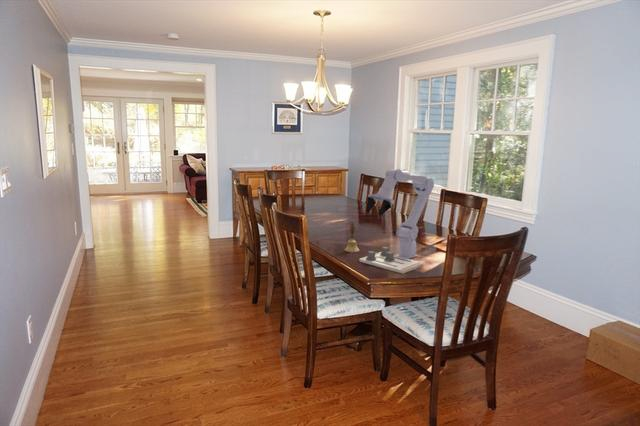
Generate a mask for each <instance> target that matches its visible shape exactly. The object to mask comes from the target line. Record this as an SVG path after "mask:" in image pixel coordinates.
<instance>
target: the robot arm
mask: <svg viewBox="0 0 640 426" xmlns="http://www.w3.org/2000/svg"><path fill="white" fill-rule="evenodd" d="M383 180H384V181H383V182H382V185H381V186H380V187H379V190H378V192H377V193H376V194H368V196H367V198H366V208H365V212H366V213H367V214H369V213H370V212H371V210H372V209H373V207H374V206H375V205H376V204H377V202H380V203H381V207H380V209H379V211H378V213H377V214H378V215H379V217H382V216H383V215H384V214H385V213H386V212H387V211H388V210H390V209H391V208H392V207H393V205H394V204H395V200H394V198H390V196H391V194H392V192H393V191H394V188H395V186H396V185H397V183H398V182H401V183H407V182H409V181H411V184H412V186H413V188H414V191H415V193H416V194H417V197H416V198H415V199H416V200H415V201H414V204H413V206H412V208H411V210H410V213H409V214H408V217H407V219H406V221H404V222H401V224H400V226H399V227H398V228H397V229H396V231H395V232H396V236H397V238H398V240H399V241H398V243H399V244H398V254H396V255H395V254H394V255H395V256H399V257H402V258H406V259H410V260H411V259H413V258H416V257H418V254H417V242H416V239H417V238H418V233H419V227H418V226H417V224H418V221H419V219H420V217H421V215H422V213H423V210H424V209H425V206H426V204H427V202H428V199H429V197H430V195H431V194H432V191H433V190H434V187H435V183H434V182H435V181H434V179H433V178H432V177H428V176H425V175H421V174H415V173H413V174H412V173H410V172H409V171H407V169H404V168H403V169H400V168H396V169H394V168H390V169H388V170H386V172H385V177H384V179H383ZM376 201H377V202H376Z"/></svg>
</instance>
